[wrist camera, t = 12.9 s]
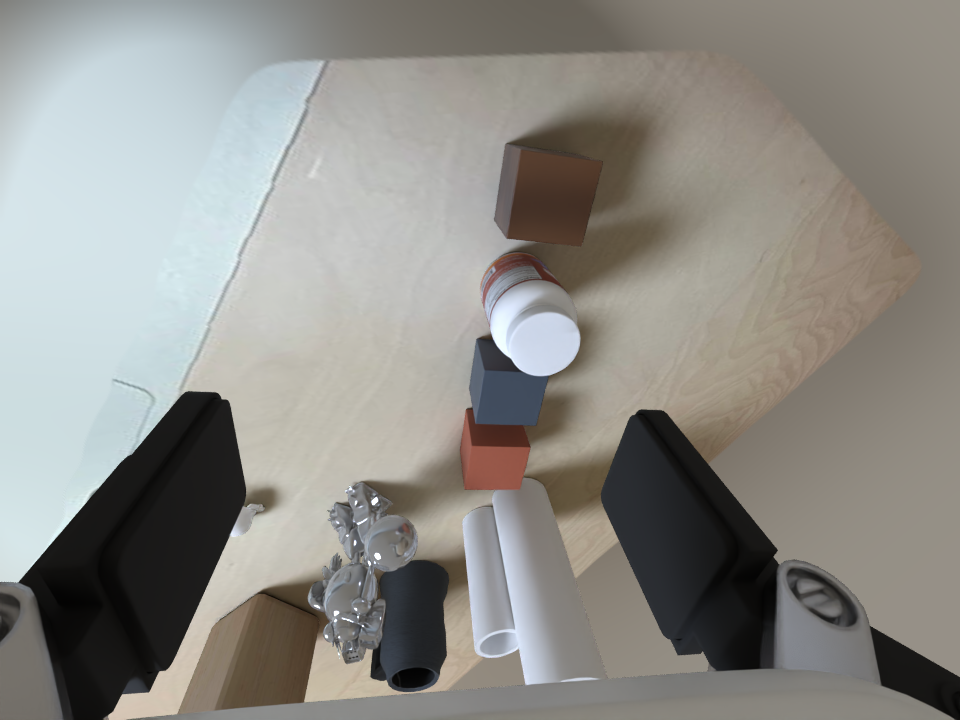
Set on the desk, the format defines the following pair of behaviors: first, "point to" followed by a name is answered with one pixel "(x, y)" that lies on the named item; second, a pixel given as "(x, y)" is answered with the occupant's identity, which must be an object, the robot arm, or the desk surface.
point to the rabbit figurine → (245, 519)
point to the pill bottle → (530, 314)
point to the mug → (412, 627)
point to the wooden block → (254, 658)
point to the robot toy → (361, 570)
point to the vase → (527, 589)
